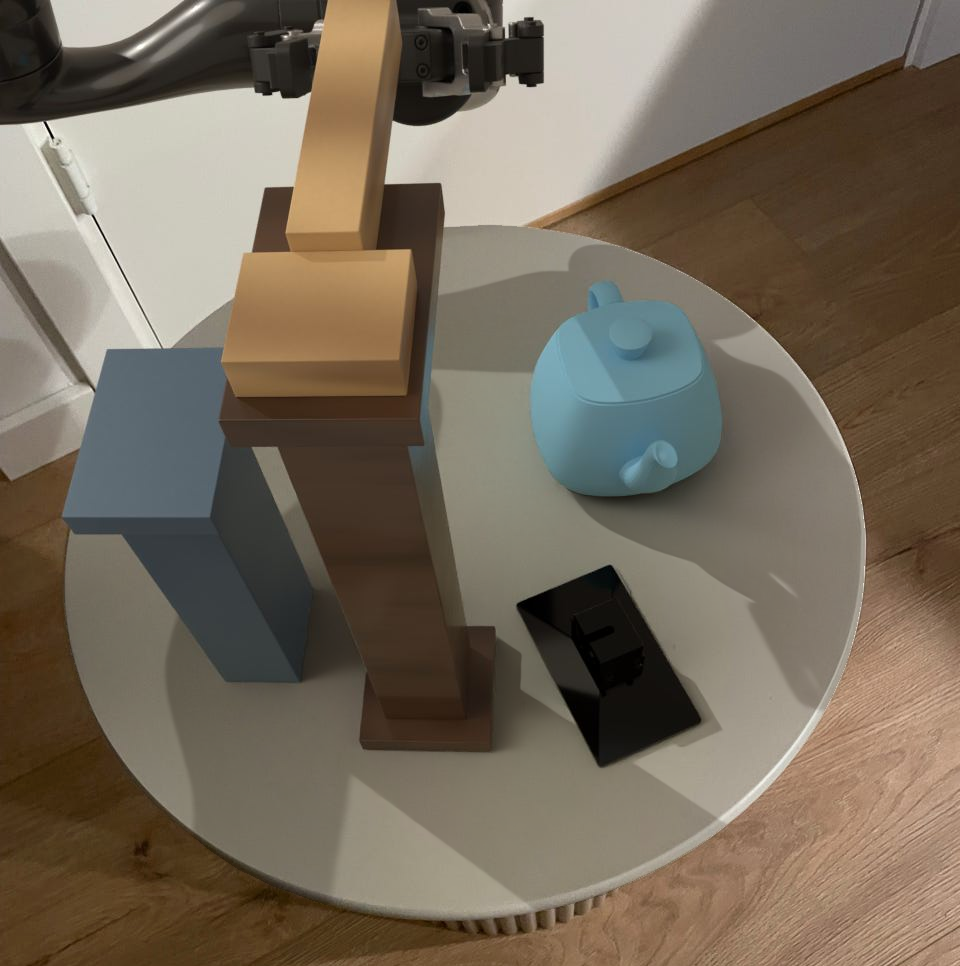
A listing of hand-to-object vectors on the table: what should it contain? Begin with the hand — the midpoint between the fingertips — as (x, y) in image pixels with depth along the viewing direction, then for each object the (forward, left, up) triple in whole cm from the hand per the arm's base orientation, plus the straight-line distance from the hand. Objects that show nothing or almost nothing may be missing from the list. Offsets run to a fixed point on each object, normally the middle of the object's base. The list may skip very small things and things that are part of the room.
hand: (379, 68), depth 45 cm
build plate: (+17, -7, -31) cm, 36 cm away
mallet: (+5, -9, +1) cm, 10 cm away
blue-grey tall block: (-3, -16, -31) cm, 35 cm away
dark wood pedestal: (+7, -13, -31) cm, 34 cm away
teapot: (+10, +8, -31) cm, 33 cm away
